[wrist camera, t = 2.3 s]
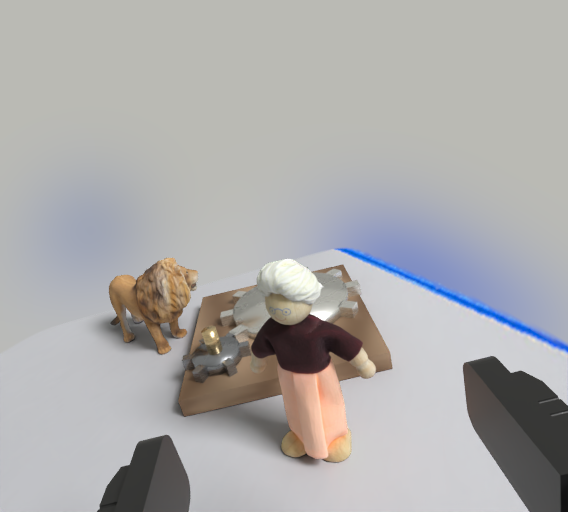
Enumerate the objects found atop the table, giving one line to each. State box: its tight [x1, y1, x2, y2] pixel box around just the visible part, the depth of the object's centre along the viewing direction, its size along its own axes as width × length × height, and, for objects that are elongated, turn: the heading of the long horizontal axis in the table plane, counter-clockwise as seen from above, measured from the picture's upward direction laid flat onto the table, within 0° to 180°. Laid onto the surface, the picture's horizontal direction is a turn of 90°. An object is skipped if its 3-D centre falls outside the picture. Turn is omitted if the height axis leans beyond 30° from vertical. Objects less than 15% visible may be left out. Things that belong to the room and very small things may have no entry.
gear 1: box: [182, 326, 251, 383], centre depth 34 cm, size 6×5×3 cm
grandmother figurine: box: [250, 259, 376, 462], centre depth 24 cm, size 8×4×13 cm, turn 81°
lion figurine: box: [109, 258, 198, 354], centre depth 43 cm, size 15×5×9 cm, turn 60°
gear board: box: [178, 265, 392, 417], centre depth 39 cm, size 16×17×2 cm
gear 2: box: [220, 267, 361, 343], centre depth 40 cm, size 13×13×1 cm
